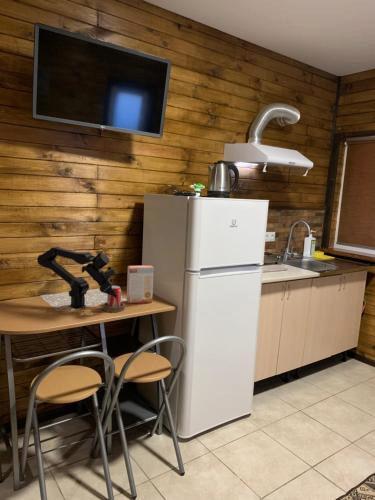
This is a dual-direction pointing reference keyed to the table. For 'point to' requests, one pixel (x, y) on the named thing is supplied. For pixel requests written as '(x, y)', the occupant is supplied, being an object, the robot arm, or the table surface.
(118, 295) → the soda can
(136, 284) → the cracker box
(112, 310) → the ring
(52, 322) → the table surface
